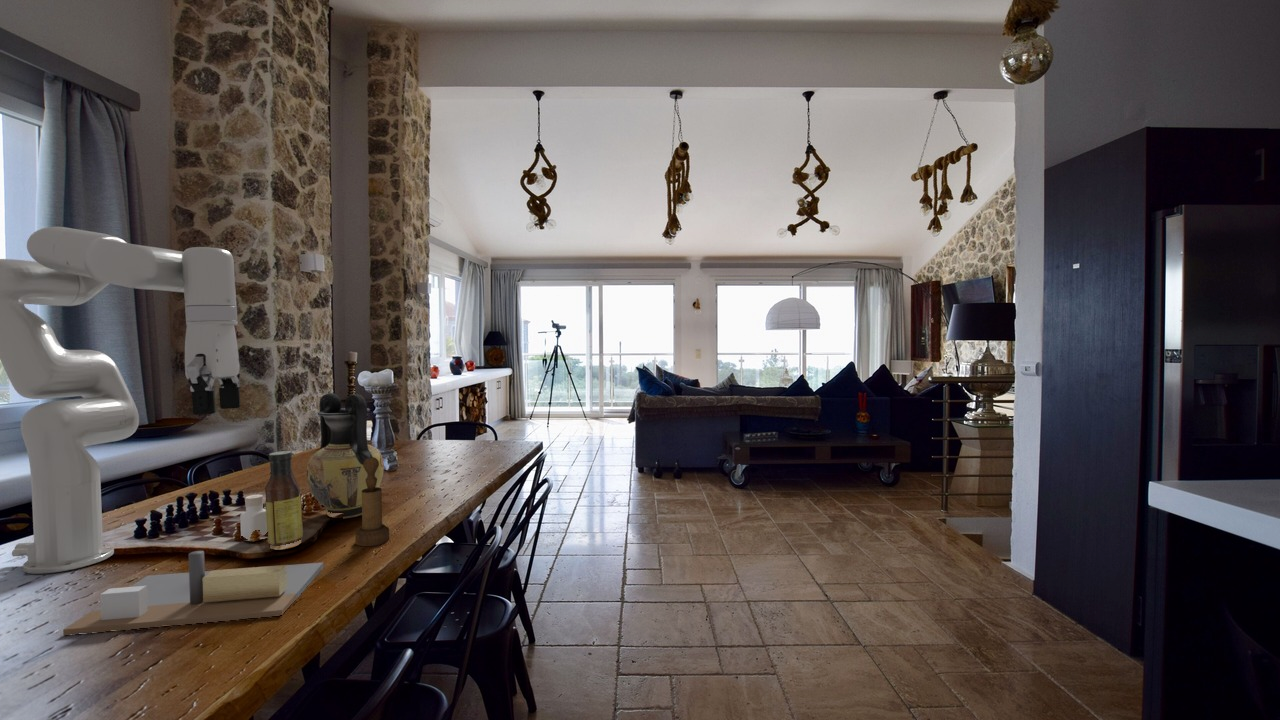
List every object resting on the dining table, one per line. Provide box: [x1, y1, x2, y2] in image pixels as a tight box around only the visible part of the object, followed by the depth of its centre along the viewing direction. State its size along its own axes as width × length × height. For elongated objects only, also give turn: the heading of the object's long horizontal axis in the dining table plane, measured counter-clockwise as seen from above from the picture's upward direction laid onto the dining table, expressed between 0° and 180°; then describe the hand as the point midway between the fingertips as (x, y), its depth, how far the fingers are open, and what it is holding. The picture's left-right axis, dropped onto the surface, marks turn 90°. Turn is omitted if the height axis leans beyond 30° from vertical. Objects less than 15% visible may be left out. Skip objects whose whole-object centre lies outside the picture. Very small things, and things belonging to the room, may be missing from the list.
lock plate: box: [62, 550, 325, 635], centre depth 97 cm, size 29×20×9 cm
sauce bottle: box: [264, 450, 304, 546], centre depth 120 cm, size 7×6×20 cm
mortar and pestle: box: [354, 457, 390, 547], centre depth 123 cm, size 7×6×18 cm
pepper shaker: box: [239, 494, 267, 540], centre depth 124 cm, size 4×4×10 cm
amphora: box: [306, 392, 385, 519], centre depth 142 cm, size 18×17×30 cm
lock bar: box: [203, 564, 287, 603], centre depth 95 cm, size 11×3×4 cm, turn 102°
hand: (218, 411), depth 105 cm, fingers open, 9 cm apart
